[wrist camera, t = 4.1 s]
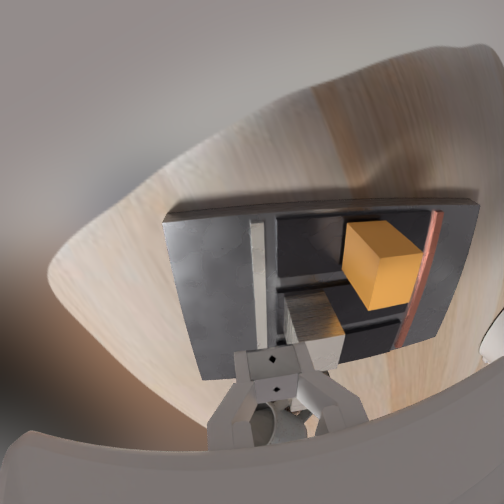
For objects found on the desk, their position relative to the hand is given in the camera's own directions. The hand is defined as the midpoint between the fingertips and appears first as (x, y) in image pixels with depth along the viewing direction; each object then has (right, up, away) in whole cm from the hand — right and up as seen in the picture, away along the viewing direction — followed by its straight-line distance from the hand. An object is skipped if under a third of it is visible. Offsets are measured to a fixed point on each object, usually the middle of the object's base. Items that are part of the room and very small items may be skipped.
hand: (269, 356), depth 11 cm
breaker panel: (+7, +1, +11) cm, 13 cm away
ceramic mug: (+2, -14, +20) cm, 24 cm away
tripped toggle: (+7, +5, +7) cm, 11 cm away
